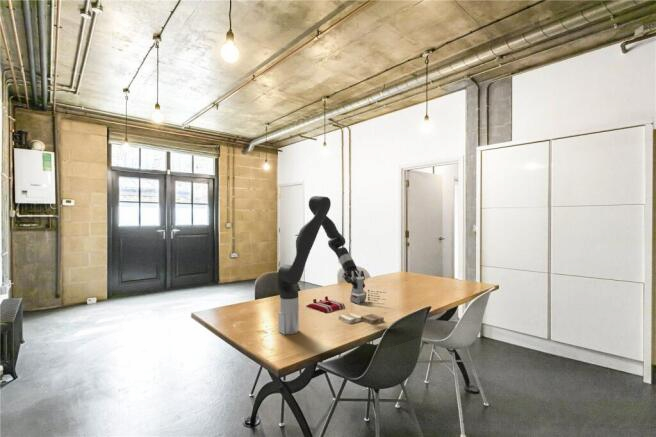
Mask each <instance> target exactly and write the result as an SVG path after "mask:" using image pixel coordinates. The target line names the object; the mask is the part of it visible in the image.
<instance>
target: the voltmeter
mask: <svg viewBox="0 0 656 437" xmlns="http://www.w3.org/2000/svg"><path fill="white" fill-rule="evenodd" d="M350 292H351V293H350V298H349V301H350V302H353V303H355V304H357V305H360V304H362V303H363V302H365V301H367V303H370V301H372V306H374V305H375V304H377V305H378V304H379V305H381V304H382V305H384V303H380V302H378V301H379V297H380V295H378V293H381V294H382V293H383V294H386V291H377V290H376V291H375V292H376V293H374V290H370V289H368V290H367V291H365V290H364V289H363V293H364V295H361V296H355V295H352V293H353V286H351V291H350ZM367 293H368V295H367ZM370 294H372V295H371V296H370ZM367 296H368V297H367ZM371 297H372V299H371ZM376 297H377V298H376ZM366 299H367V300H366ZM376 299H377V300H376ZM382 300H385V298H382Z"/></svg>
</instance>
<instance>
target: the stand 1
mask: <svg viewBox="0 0 656 437" xmlns="http://www.w3.org/2000/svg"><path fill="white" fill-rule="evenodd" d="M338 320H339V321H341V322H344V323H346V324H354V323H357V322H363V321H362V317H361V316H360V315H357V314H354V313H352V312H350V313H346V314H343V315H339V316H338Z"/></svg>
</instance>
